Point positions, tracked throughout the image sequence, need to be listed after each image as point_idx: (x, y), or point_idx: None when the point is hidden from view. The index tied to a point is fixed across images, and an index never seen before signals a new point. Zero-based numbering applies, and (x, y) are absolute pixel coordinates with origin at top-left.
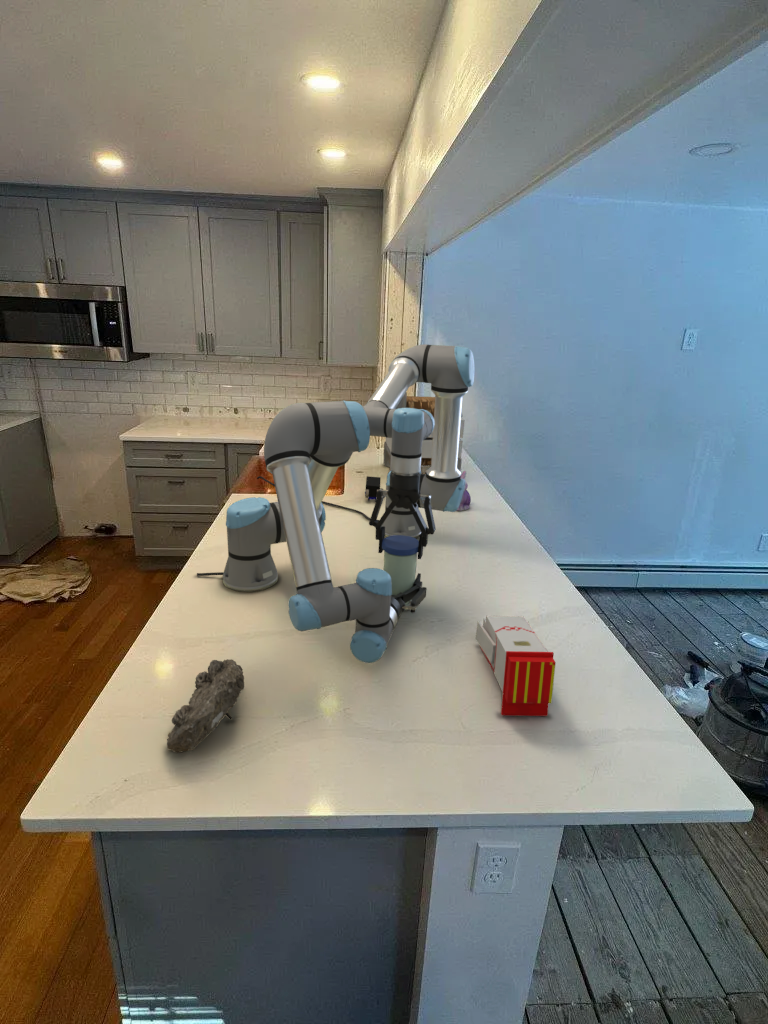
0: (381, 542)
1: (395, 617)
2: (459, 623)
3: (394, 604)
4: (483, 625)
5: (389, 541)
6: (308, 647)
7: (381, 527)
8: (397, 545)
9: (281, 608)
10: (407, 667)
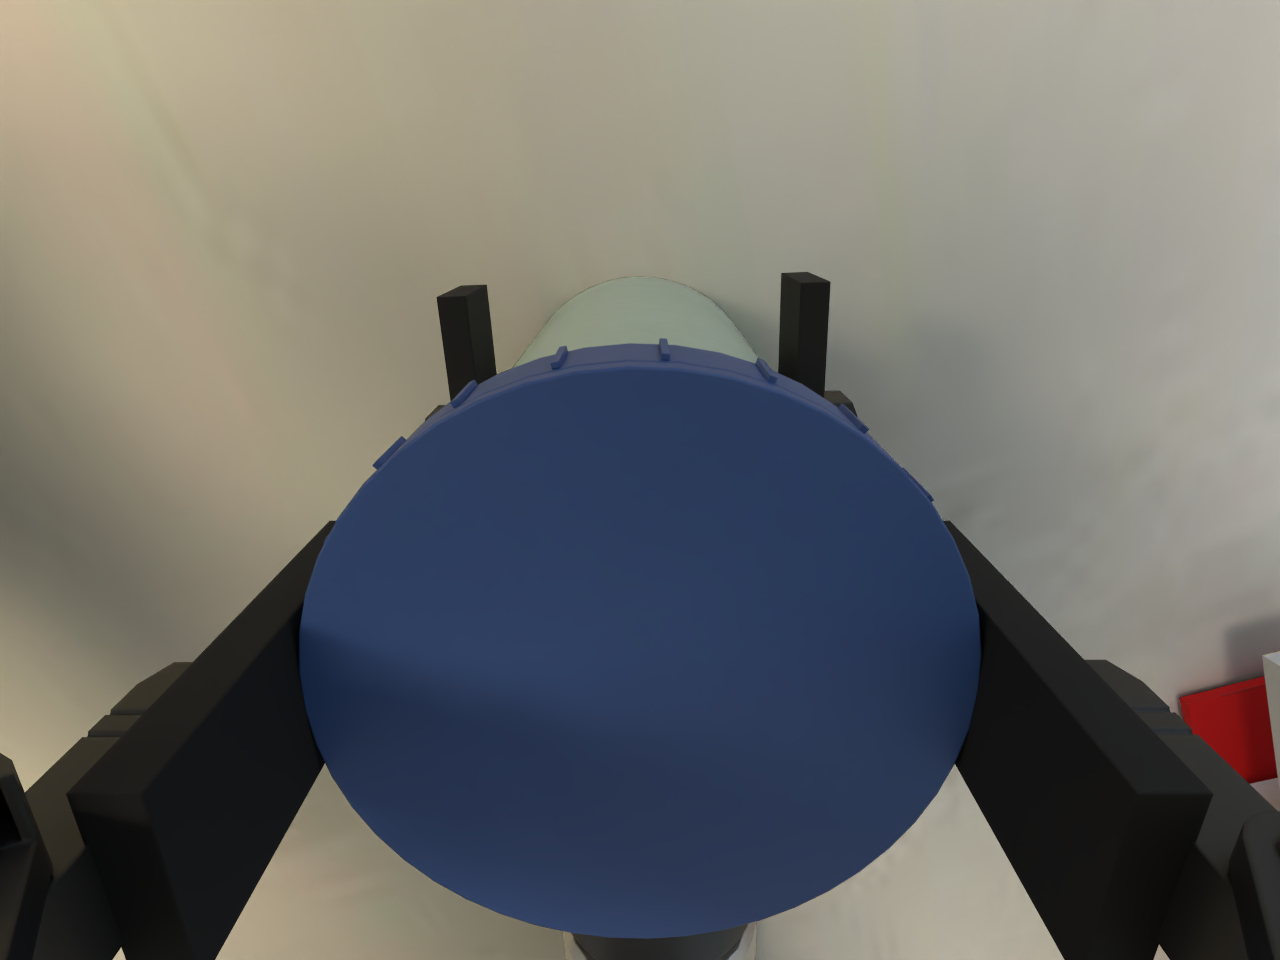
0: (323, 763)
1: (753, 958)
2: (1080, 509)
3: (730, 935)
4: (1274, 673)
5: (438, 737)
6: (361, 921)
7: (95, 868)
8: (615, 825)
9: (6, 690)
10: (824, 919)
